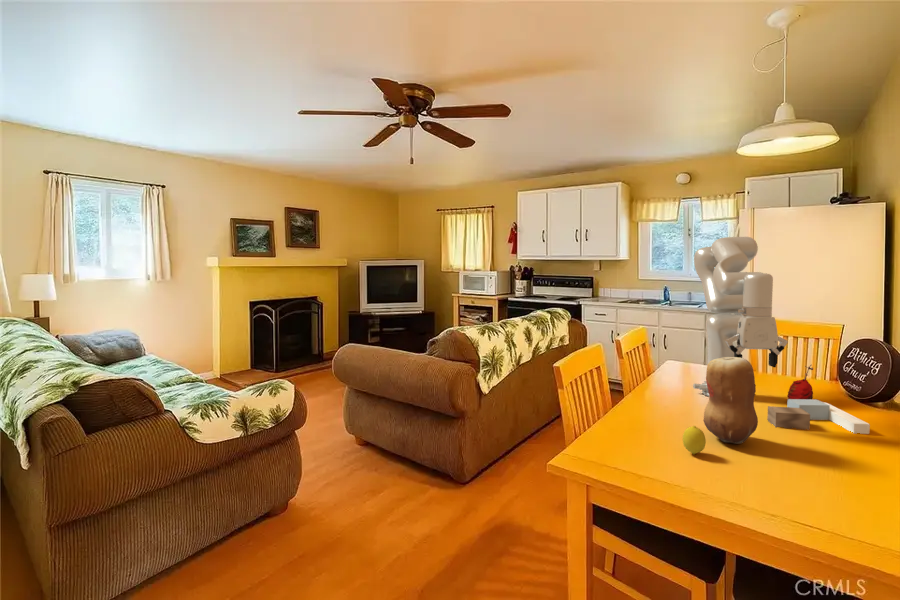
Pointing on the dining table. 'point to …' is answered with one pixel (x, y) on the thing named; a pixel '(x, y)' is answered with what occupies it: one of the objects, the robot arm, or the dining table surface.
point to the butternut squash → (730, 399)
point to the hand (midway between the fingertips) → (755, 366)
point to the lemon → (694, 439)
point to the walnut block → (789, 417)
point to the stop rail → (848, 421)
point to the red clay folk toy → (801, 389)
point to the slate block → (811, 408)
